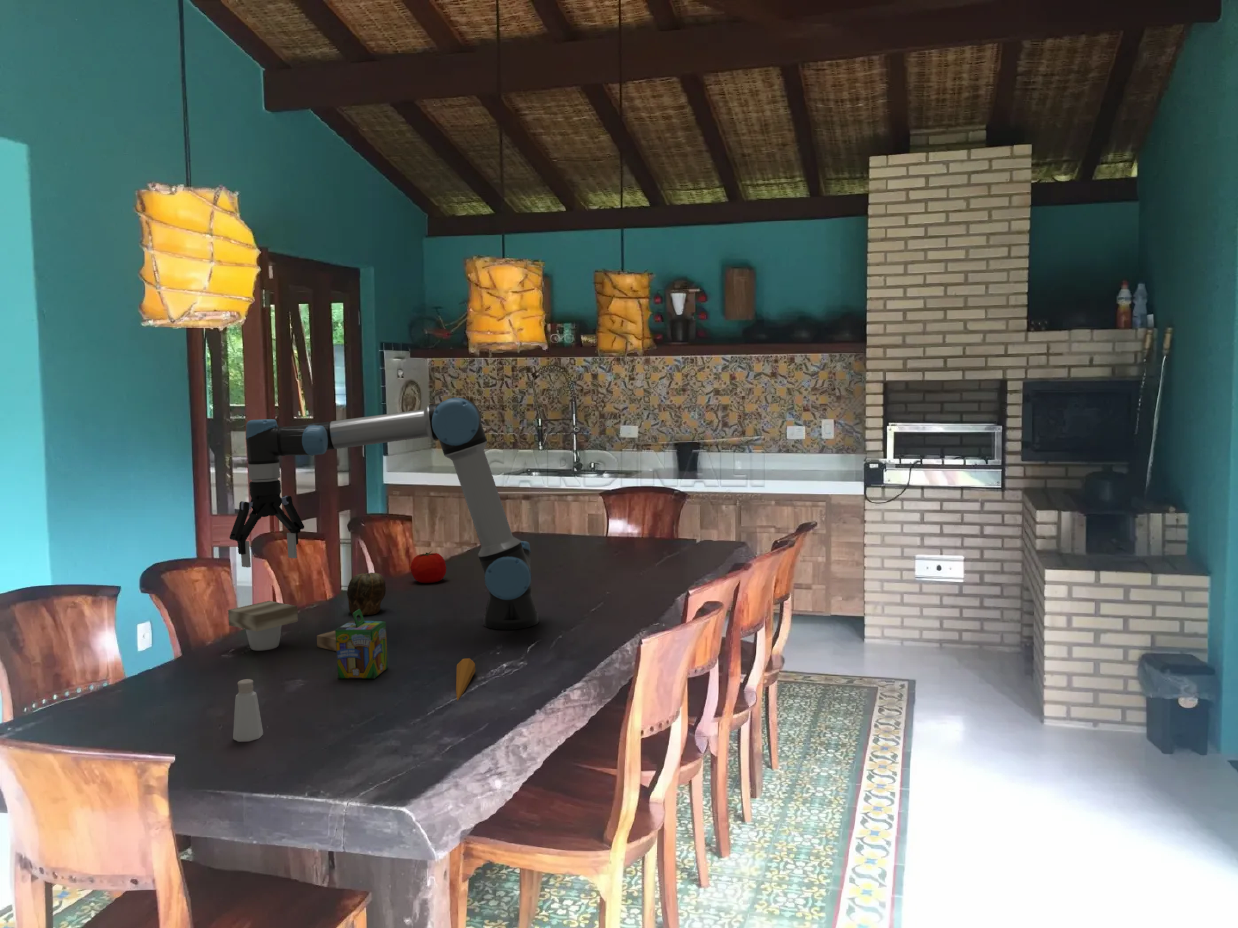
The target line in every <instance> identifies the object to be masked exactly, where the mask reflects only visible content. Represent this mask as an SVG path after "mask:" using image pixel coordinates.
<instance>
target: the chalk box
mask: <svg viewBox="0 0 1238 928" xmlns="http://www.w3.org/2000/svg"><path fill="white" fill-rule="evenodd" d="M357 615H359V616H357ZM352 617H353V620H350V621H347V622H346V623H344V624H342V625H341V626H339V627H337V628H336V629H335V630H334V631H335V635H336V651H335V653H336V667H337V679H338V680H339V679H374V680H375V679H376V678H377V677H378V676H380V675H381V674H383V672H385V671H386V670H387V669H388V668H389V666H388V663H389V662H388V645H387V644H388V642H387V640H388V639H387V622H386V621H383V620H382V621H381V620H365V619H364V615H362V612H361V610H360V609H358V610H357V611H355V612H354V613H353V614H352ZM357 617H359V618H360V619H359V620H358V618H357Z"/></svg>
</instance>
